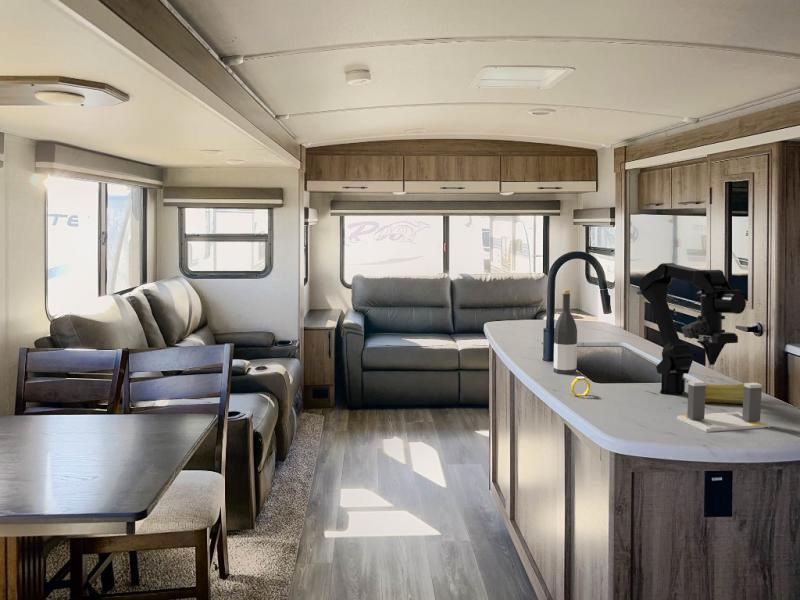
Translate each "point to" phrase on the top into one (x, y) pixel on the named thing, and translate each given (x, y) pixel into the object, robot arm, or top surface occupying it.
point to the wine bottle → (565, 340)
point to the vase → (724, 393)
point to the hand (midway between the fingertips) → (711, 364)
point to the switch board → (722, 422)
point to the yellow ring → (574, 384)
